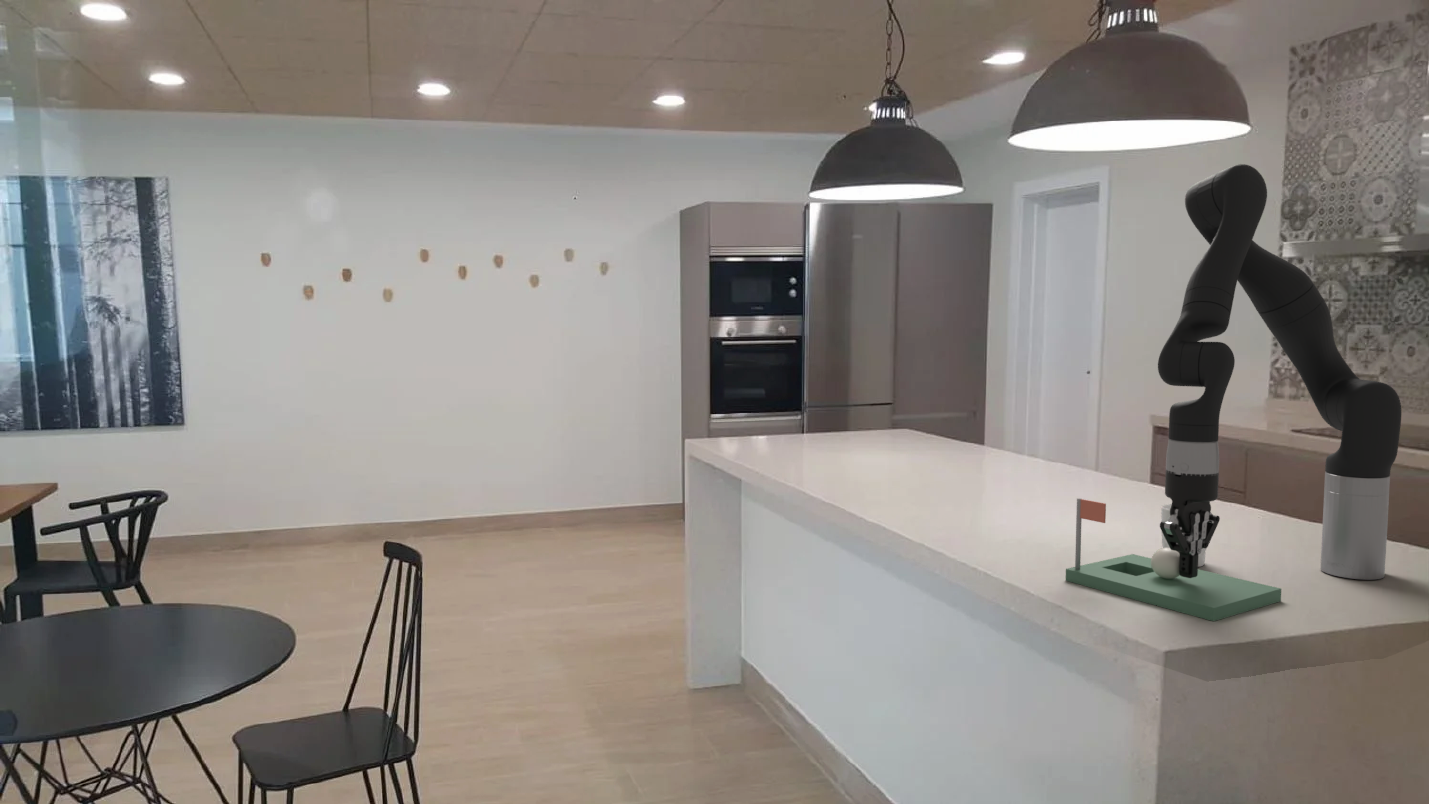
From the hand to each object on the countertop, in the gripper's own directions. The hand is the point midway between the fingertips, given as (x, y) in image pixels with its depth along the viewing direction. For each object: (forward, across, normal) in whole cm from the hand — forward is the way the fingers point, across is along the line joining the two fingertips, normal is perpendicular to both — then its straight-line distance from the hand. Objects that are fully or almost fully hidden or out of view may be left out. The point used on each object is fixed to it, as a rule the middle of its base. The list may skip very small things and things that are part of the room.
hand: (1188, 576), depth 154 cm
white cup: (+3, -18, -12) cm, 22 cm away
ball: (-1, 0, -4) cm, 4 cm away
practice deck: (+3, 0, -3) cm, 5 cm away
